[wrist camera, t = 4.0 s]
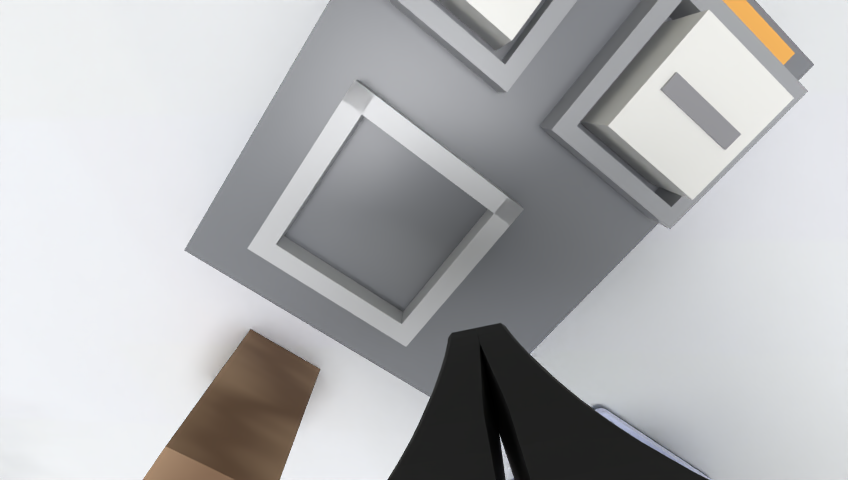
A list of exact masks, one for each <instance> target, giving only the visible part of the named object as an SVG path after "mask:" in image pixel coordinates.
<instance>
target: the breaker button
mask: <svg viewBox="0 0 848 480" xmlns="http://www.w3.org/2000/svg"><path fill="white" fill-rule="evenodd" d="M793 99H794V97H793V96H792V95H791V94H790V93H789V92H788V91H787V90H786V89H785V88H784V87H783V86H782V85H781V84H780V83H779V82H778V81H777V80H776V79H775V78H774V77H773V76H772V75H771V73H770V72H769V71H768V70H767V69H766V68H765V67H764V66H763V65H762V64H761V63H760V62H759V61H758V60H757V59H756V58H755V57H754V56H753V55H752V54H751V53H750V52H749V51H748V49H747V48H746V47H745V46H744V45H743V44H742V43H741V42H740V41H739V40H738V39H737V38H736V37H735V36H734V35H733V34H732V33H731V32H730V31H729V30H728V29H727V28H726V27H725V26H724V24H723V23H722V22H721V21H720V20H719V19H718V18H717V17H716V16H715V15H714V14H713V13H712V12H711V11H710V10H705V11H702V12H698V13H695V14H692V15H688V16H685V17H681V18H678V19H675V20H671V21H668V22H664V23H663V24H662V25H661V26H660V27H659V29H658V30H657V31H656V32H655V33H654V35H653V36H652V37H651V38H650V39H649V41H648V42H647V43H646V44H645V45H644V46H643V48H642V49H641V50H640V51H639V52H638V54H637V55H636V56H635V57H634V58H633V60H632V61H631V62H630V63H629V64H628V65H627V67H626V68H625V69H624V70H623V71H622V73H621V74H620V75H619V76H618V77H617V79H616V80H615V81H614V82H613V83H612V85H611V86H610V87H609V88H608V89H607V90H606V92H605V93H604V94H603V95H602V96H601V98H600V99H599V100H598V101H597V102H596V104H595V105H594V106H593V107H592V108H591V109H590V111H589V112H588V113H587V114H586V115H585V117H584V118H583V119H582V120H581V121H580V123H581V124H583V125H584V126H585V127H586V128H587V129H588V130H590V131H591V132H592V133H593V134H594V135H595V136H597V137H598V138H599V139H600V140H601V141H602V142H603V143H605V144H606V145H607V146H608V147H609V148H610V149H612V150H613V151H614V152H615V153H616V154H617V155H619V156H620V157H621V158H622V159H623V160H624V161H626V162H627V163H628V164H629V165H630V166H631V167H632V168H634V169H635V170H636V171H637V172H638V173H639V174H641V175H642V176H643V177H644V178H645V179H646V180H648V181H649V182H650V183H651V184H653V185H655V186H658V187H660V188H663V189H665V190H668V191H671V192H673V193H676V194H678V195H681V196H683V197H686V198H689V199H691V200H693V199H694V198H695V197H696V196H697V195H698V194H699V193H700V192H701V191H702V190H703V189H704V188H705V187H706V186H707V185H708V184H709V183H710V182H711V181H712V180H713V179H714V178H715V177H716V176H717V175H718V174H719V173H720V172H721V171H722V170H723V169H724V168H725V167H726V166H727V165H728V164H729V163H730V162H731V161H732V160H733V159H734V158H735V157H736V156H737V155H738V154H739V153H740V152H741V151H742V150H743V149H744V148H745V147H746V146H747V145H748V144H749V143H750V142H751V141H752V140H753V139H754V138H755V137H756V136H757V135H758V134H759V133H760V132H761V131H762V130H763V129H764V128H765V127H766V126H767V125H768V124H769V123H770V122H771V121H772V120H773V119H774V118H775V117H776V116H777V115H778V114H779V113H780V112H781V111H782V110H783V109H784V108H785V107H786V106H787V105H788V104H789V103H790V102H791V101H792V100H793Z"/></svg>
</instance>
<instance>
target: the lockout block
mask: <svg viewBox="0 0 848 480" xmlns="http://www.w3.org/2000/svg"><path fill="white" fill-rule="evenodd" d="M319 371H320V369H319V368H317V367H316V366H314V365H312V364H310V363H309V362H307V361H305V360H303V359H302V358H300V357H298V356H296V355H295V354H293V353H291V352H289V351H288V350H286V349H284V348H282V347H281V346H279V345H277V344H275V343H274V342H272V341H270V340H268V339H267V338H265V337H263V336H262V335H260V334H258V333H256V332H255V331H253V330H251V329H250V331H249V332H248V334H247V335H246V336H245V338H244V339H243V340H242V342H241V343H240V345H239V346H238V347H237V349H236V350H235V351H234V353H233V354H232V356H231V357H230V358H229V360H228V361H227V362H226V364H225V365H224V367H223V368H222V369H221V371H220V372H219V374H218V375H217V376H216V378H215V379H214V380H213V382H212V383H211V385H210V386H209V387H208V389H207V390H206V391H205V393H204V394H203V396H202V397H201V398H200V400H199V401H198V403H197V404H196V405H195V407H194V408H193V409H192V411H191V412H190V414H189V415H188V416H187V418H186V419H185V420H184V422H183V423H182V425H181V426H180V427H179V429H178V430H177V431H176V433H175V434H174V436H173V437H172V438H171V440H170V441H169V443H168V444H167V445H166V447H165V448H164V450H163V451H162V452H161V454H160V455H159V457H158V458H157V460H156V461H155V463H154V464H153V466H152V467H151V468H150V470H149V471H148V473H147V474H146V476H145V477H144V479H143V480H280V477H281V475H282V472H283V469H284V467H285V464H286V461H287V458H288V456H289V453H290V450H291V447H292V445H293V442H294V439H295V436H296V434H297V431H298V428H299V426H300V423H301V420H302V417H303V415H304V412H305V409H306V406H307V404H308V401H309V398H310V395H311V393H312V390H313V387H314V385H315V382H316V379H317V376H318V374H319Z"/></svg>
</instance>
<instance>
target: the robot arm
mask: <svg viewBox="0 0 848 480" xmlns="http://www.w3.org/2000/svg"><path fill="white" fill-rule="evenodd" d="M499 434H500V435H499ZM500 437H501V440H502V443H503V446H504V449H505V452H506V455H507V458H508V461H509V464H510V467H511V470H512V473H513V476H514V479H515V480H711V479H710V478H709V477H707V476H706V475H704V474H703V473H701V472H700V471H698V470H697V469H695V468H694V467H692V466H691V465H689V464H688V463H686V462H685V461H683V460H682V459H680V458H679V457H677V456H676V455H674V454H673V453H671V452H669V451H668V450H666V449H665V448H663V447H662V446H660V445H659V444H657V443H656V442H654V441H653V440H651V439H650V438H648V437H647V436H645V435H644V434H642V433H641V432H639V431H638V430H636V429H635V428H633V427H632V426H630V425H629V424H627V423H626V422H624V421H623V420H621V419H620V418H618V417H617V416H615V415H614V414H612V413H611V412H609V411H608V410H606V409H604V408H598V409H595V410H594V409H593V408H591V407H590V406H589V405H587V404H586V403H585V402H583V401H582V400H581V399H579V398H578V397H577V396H576V395H574V394H573V393H572V392H571V391H570V390H568V389H567V388H566V387H565V386H564V385H562V384H561V383H560V382H559V381H558V380H557V379H555V378H554V377H553V376H552V375H551V374H550V373H549V372H548V371H547V370H546V369H545V368H543V367H542V366H541V365H540V364H539V363H538V362H537V361H536V360H535V359H534V358H533V357H532V356H531V355H530V354H529V353H528V352H527V351H526V350H525V349H524V348H523V347H522V346H521V344H520V343H519V342H518V341H517V340H516V339H515V338H514V336H513V335H512V334H511V333H510V331H509V330H508V329H507V327H506V326H505V325H503V324H502V323H497V324H492V325H487V326H482V327H478V328H473V329H468V330H463V331H458V332H453V333H451V334H450V336H449V337H448V342H447V348H446V352H445V356H444V359H443V363H442V366H441V370H440V372H439V375H438V378H437V381H436V384H435V387H434V389H433V392H432V395H431V397H430V399H429V402H428V404H427V406H426V409H425V411H424V413H423V415H422V418H421V420H420V422H419V424H418V426H417V428H416V430H415V432H414V434H413V436H412V438H411V440H410V442H409V444H408V446H407V448H406V449H405V451H404V453H403V455H402V457H401V458H400V460H399V462H398V464H397V465H396V467H395V469H394V470H393V472H392V473H391V475H390V477H389V478H388V480H505V473H504V465H503V458H502V450H501V443H500Z"/></svg>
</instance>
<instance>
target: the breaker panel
mask: <svg viewBox="0 0 848 480" xmlns="http://www.w3.org/2000/svg"><path fill="white" fill-rule="evenodd" d="M705 10H710V11H711V12H712V13H713V14H714V15H715V16H716V17H717V18H718V19H719V20H720V21H721V22H722V23H723V24H724V26H725V27H726V28H727V29H728V30H729V31H730V32H731V33H732V34H733V35H734V36H735V37H736V38H737V39H738V40H739V41H740V42H741V43H742V44H743V45H744V46H745V47H746V48H747V49H748V51H749V52H750V53H751V54H752V55H753V56H754V57H755V58H756V59H757V60H758V61H759V62H760V63H761V64H762V65H763V66H764V67H765V68H766V69H767V70H768V71H769V72H770V73H771V75H772V76H773V77H774V78H775V79H776V80H777V81H778V82H779V83H780V84H781V85H782V86H783V87H784V88H785V89H786V90H787V91H788V92H789V93H790V94H791V95H792V96H793V97H794V99H793V100H792V101H791V102H790V103H789V104H788V105H787V106H786V107H785V108H784V109H783V110H782V111H781V112H780V113H779V114H778V115H777V116H776V117H775V118H774V119H773V120H772V121H771V122H770V123H769V124H768V125H767V126H766V127H765V128H764V129H763V130H762V131H761V132H760V133H759V134H758V135H757V136H756V137H755V138H754V139H753V140H752V141H751V142H750V143H749V144H748V145H747V146H746V147H745V148H744V149H743V150H742V151H741V152H740V153H739V154H738V155H737V156H736V157H735V158H734V159H733V160H732V161H731V162H730V163H729V164H728V165H727V166H726V167H725V168H724V169H723V170H722V171H721V172H720V173H719V174H718V175H717V176H716V177H715V178H714V179H713V180H712V181H711V182H710V183H709V184H708V185H707V186H706V187H705V188H704V189H703V190H702V191H701V192H700V193H699V194H698V195H697V196H696V197H695V198H694V199H693V200H691V199H689V198H686V197H683V196H681V195H678V194H676V193H673V192H671V191H668V190H665V189H663V188H660V187H658V186H655V185H653V184H651V183H650V182H649V181H648V180H646V179H645V178H644V177H643V176H642V175H641V174H639V173H638V172H637V171H636V170H635V169H634V168H632V167H631V166H630V165H629V164H628V163H627V162H626V161H624V160H623V159H622V158H621V157H620V156H619V155H617V154H616V153H615V152H614V151H613V150H612V149H610V148H609V147H608V146H607V145H606V144H605V143H603V142H602V141H601V140H600V139H599V138H598V137H597V136H595V135H594V134H593V133H592V132H591V131H590V130H588V129H587V128H586V127H585V126H584V125H583V124H581V123H580V121H581V120H582V119H583V118H584V117H585V115H586V114H587V113H588V112H589V111H590V109H591V108H592V107H593V106H594V105H595V104H596V102H597V101H598V100H599V99H600V98H601V96H602V95H603V94H604V93H605V92H606V90H607V89H608V88H609V87H610V86H611V85H612V83H613V82H614V81H615V80H616V79H617V77H618V76H619V75H620V74H621V73H622V71H623V70H624V69H625V68H626V67H627V65H628V64H629V63H630V62H631V61H632V60H633V58H634V57H635V56H636V55H637V54H638V52H639V51H640V50H641V49H642V48H643V46H644V45H645V44H646V43H647V42H648V41H649V39H650V38H651V37H652V36H653V35H654V33H655V32H656V31H657V30H658V29H659V27H660V26H661V25H662V24H663V23H664V22H668V21H671V20H675V19H678V18H681V17H685V16H688V15H692V14H695V13H698V12H702V11H705ZM813 65H814V64H813V63H812V62H811V61H810V60H809V59H808V57H807V56H806V55H805V54H804V53H803V52H802V51H801V50H800V49H799V48H798V47H797V45H796V44H795V43H794V42H793V41H792V40H791V39H790V38H789V37H788V36H787V35H786V33H785V32H784V31H783V30H782V29H781V28H780V27H779V26H778V25H777V24H776V23H775V21H774V20H773V19H772V18H771V17H770V16H769V15H768V14H767V13H766V12H765V11H764V9H763V8H762V7H761V6H760V5H759V4H758V3H757V2H756V1H755V0H330V1H329V3H328V4H327V6H326V8H325V10H324V11H323V13H322V15H321V17H320V18H319V20H318V22H317V23H316V25H315V27H314V29H313V30H312V32H311V34H310V35H309V37H308V39H307V41H306V42H305V44H304V46H303V47H302V49H301V51H300V53H299V54H298V56H297V58H296V59H295V61H294V63H293V65H292V66H291V68H290V70H289V71H288V73H287V75H286V77H285V78H284V80H283V82H282V83H281V85H280V87H279V89H278V90H277V92H276V94H275V95H274V97H273V99H272V101H271V102H270V104H269V106H268V108H267V109H266V111H265V113H264V114H263V116H262V118H261V120H260V121H259V123H258V125H257V126H256V128H255V130H254V132H253V133H252V135H251V137H250V138H249V140H248V142H247V144H246V145H245V147H244V149H243V150H242V152H241V154H240V156H239V157H238V159H237V161H236V162H235V164H234V166H233V168H232V169H231V171H230V173H229V174H228V176H227V178H226V180H225V181H224V183H223V185H222V186H221V188H220V190H219V192H218V193H217V195H216V197H215V198H214V200H213V202H212V204H211V205H210V207H209V209H208V211H207V212H206V214H205V216H204V217H203V219H202V221H201V223H200V224H199V226H198V228H197V229H196V231H195V233H194V235H193V236H192V238H191V240H190V241H189V243H188V245H187V247H186V248H185V251H187V252H188V253H190V254H192V255H193V256H195V257H197V258H198V259H200V260H202V261H203V262H205V263H207V264H208V265H210V266H212V267H213V268H215V269H217V270H218V271H220V272H222V273H223V274H225V275H227V276H228V277H230V278H232V279H233V280H235V281H237V282H238V283H240V284H242V285H244V286H245V287H247V288H249V289H250V290H252V291H254V292H255V293H257V294H259V295H260V296H262V297H264V298H265V299H267V300H269V301H270V302H272V303H274V304H275V305H277V306H279V307H280V308H282V309H284V310H285V311H287V312H289V313H290V314H292V315H294V316H295V317H297V318H299V319H301V320H302V321H304V322H306V323H307V324H309V325H311V326H312V327H314V328H316V329H317V330H319V331H321V332H322V333H324V334H326V335H327V336H329V337H331V338H332V339H334V340H336V341H337V342H339V343H341V344H342V345H344V346H346V347H347V348H349V349H351V350H352V351H354V352H356V353H358V354H359V355H361V356H363V357H364V358H366V359H368V360H369V361H371V362H373V363H374V364H376V365H378V366H379V367H381V368H383V369H384V370H386V371H388V372H389V373H391V374H393V375H394V376H396V377H398V378H399V379H401V380H403V381H404V382H406V383H408V384H409V385H411V386H413V387H415V388H416V389H418V390H420V391H421V392H423V393H425V394H426V395H428V396H430V397H431V395H432V392H433V389H434V387H435V384H436V381H437V378H438V375H439V372H440V370H441V366H442V363H443V359H444V356H445V352H446V348H447V342H448V337H449V336H450V334H451V333H453V332H458V331H463V330H468V329H473V328H478V327H482V326H487V325H492V324H497V323H502V324H503V325H505V326H506V327H507V329H508V330H509V331H510V333H511V334H512V335H513V336H514V338H515V339H516V340H517V341H518V342H519V343H520V344H521V346H522V347H523V348H524V349H525V350H526V351H527V352H528V353H529V354H530V353H531V352H532V351H533V350H534V349H535V348H536V347H537V346H538V345H539V344H540V343H541V342H542V341H543V340H544V339H545V338H546V337H547V336H548V335H549V334H550V333H551V332H552V331H553V330H554V329H555V328H556V327H557V325H558V324H559V323H560V322H561V321H562V320H563V319H564V318H565V317H566V316H567V315H568V314H569V313H570V312H571V311H572V310H573V309H574V308H575V307H576V306H577V305H578V304H579V303H580V302H581V301H582V300H583V299H584V298H585V297H586V296H587V295H588V294H589V293H590V292H591V291H592V290H593V289H594V288H595V287H596V286H597V285H598V284H599V283H600V282H601V281H602V280H603V279H604V278H605V277H606V276H607V275H608V274H609V273H610V272H611V271H612V270H613V269H614V268H615V267H616V266H617V265H618V263H619V262H620V261H621V260H622V259H623V258H624V257H625V256H626V255H627V254H628V253H629V252H630V251H631V250H632V249H633V248H634V247H635V246H636V245H637V244H638V243H639V242H640V241H641V240H642V239H643V238H644V237H645V236H646V235H647V234H648V233H649V232H650V231H651V230H652V229H653V228H654V227H655V226H656V225H657V224H658V223H660V224H661V225H663V226H665V227H667V228H669V229H671V228H672V227H673V226H674V225H675V224H676V223H677V222H678V221H679V220H680V219H681V218H682V217H683V216H684V215H685V214H686V213H687V212H688V211H689V210H690V209H691V208H692V207H693V206H694V205H695V204H696V203H697V202H698V201H699V200H700V199H701V198H702V197H703V196H704V195H705V194H706V193H707V192H708V191H709V190H710V189H711V188H712V187H713V186H714V185H715V184H716V183H717V182H718V181H719V180H720V179H721V178H722V177H723V176H724V175H725V174H726V173H727V172H728V171H729V170H730V169H731V168H732V167H733V166H734V165H735V164H736V163H737V162H738V161H739V160H740V159H741V158H742V157H743V156H744V155H745V154H746V153H747V152H748V151H749V150H750V149H751V148H752V147H753V146H754V145H755V144H756V143H757V142H758V141H759V140H760V139H761V138H762V137H763V136H764V135H765V134H766V133H767V132H768V131H769V130H770V129H771V128H772V127H773V126H774V125H775V124H776V123H777V122H778V121H779V120H780V119H781V118H782V117H783V116H784V115H785V114H786V113H787V112H788V111H789V110H790V109H791V108H792V107H793V106H794V105H795V104H796V103H797V102H798V101H799V100H800V99H801V98H802V97H803V96H804V95H805V94H806V93H807V92H808V91H807V90H806V89H805V87H804V86H803V85H802V84H801V83H800V82H799V80H800V79H801V78H802V77H803V75H804V74H805V73H806V72H807V71H808V70H809V69H810V68H811V67H812V66H813Z"/></svg>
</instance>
